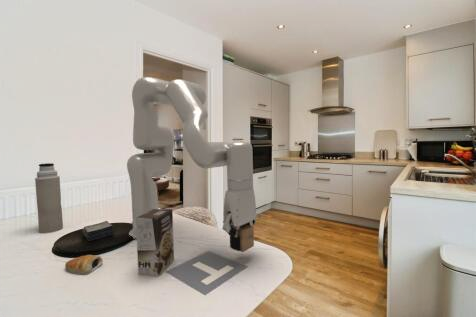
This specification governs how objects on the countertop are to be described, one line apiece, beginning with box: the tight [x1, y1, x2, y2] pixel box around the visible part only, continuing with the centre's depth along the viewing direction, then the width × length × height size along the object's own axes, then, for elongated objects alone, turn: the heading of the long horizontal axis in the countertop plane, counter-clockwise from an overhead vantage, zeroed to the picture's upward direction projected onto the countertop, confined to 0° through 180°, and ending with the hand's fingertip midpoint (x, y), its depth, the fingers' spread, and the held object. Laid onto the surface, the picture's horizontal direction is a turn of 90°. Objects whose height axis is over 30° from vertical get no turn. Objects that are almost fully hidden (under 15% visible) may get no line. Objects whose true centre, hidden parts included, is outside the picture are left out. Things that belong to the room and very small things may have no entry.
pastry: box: [64, 254, 104, 275], centre depth 69 cm, size 9×7×4 cm
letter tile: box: [165, 250, 248, 296], centre depth 66 cm, size 16×16×1 cm
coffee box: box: [136, 208, 175, 278], centre depth 67 cm, size 9×6×16 cm
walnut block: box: [229, 224, 255, 253], centre depth 70 cm, size 5×5×6 cm
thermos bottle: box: [34, 162, 64, 234], centre depth 99 cm, size 8×8×28 cm
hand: (241, 245), depth 70 cm, fingers closed on walnut block, 5 cm apart
